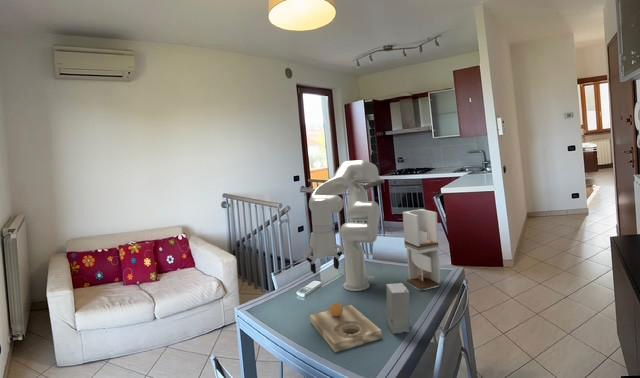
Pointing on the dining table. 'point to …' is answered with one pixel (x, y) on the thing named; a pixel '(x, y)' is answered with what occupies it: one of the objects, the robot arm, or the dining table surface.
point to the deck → (345, 328)
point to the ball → (336, 309)
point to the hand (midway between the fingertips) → (325, 270)
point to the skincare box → (397, 308)
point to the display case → (422, 248)
